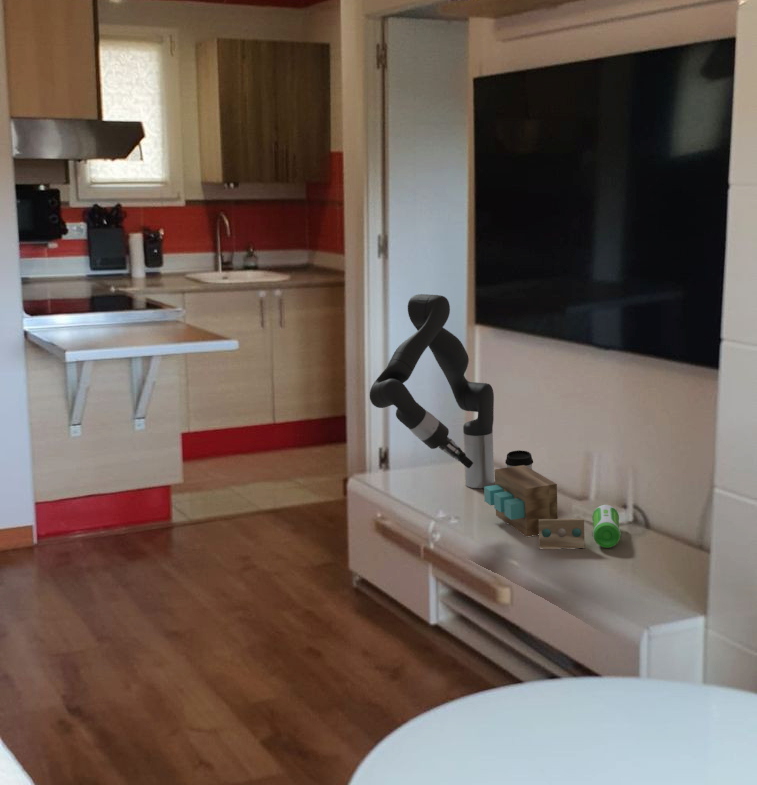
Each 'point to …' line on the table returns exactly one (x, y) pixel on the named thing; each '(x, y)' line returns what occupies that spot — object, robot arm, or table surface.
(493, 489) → the button
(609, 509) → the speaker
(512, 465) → the coffee cup
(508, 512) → the button
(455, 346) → the robot arm
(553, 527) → the board
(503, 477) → the button panel
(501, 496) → the button middle
